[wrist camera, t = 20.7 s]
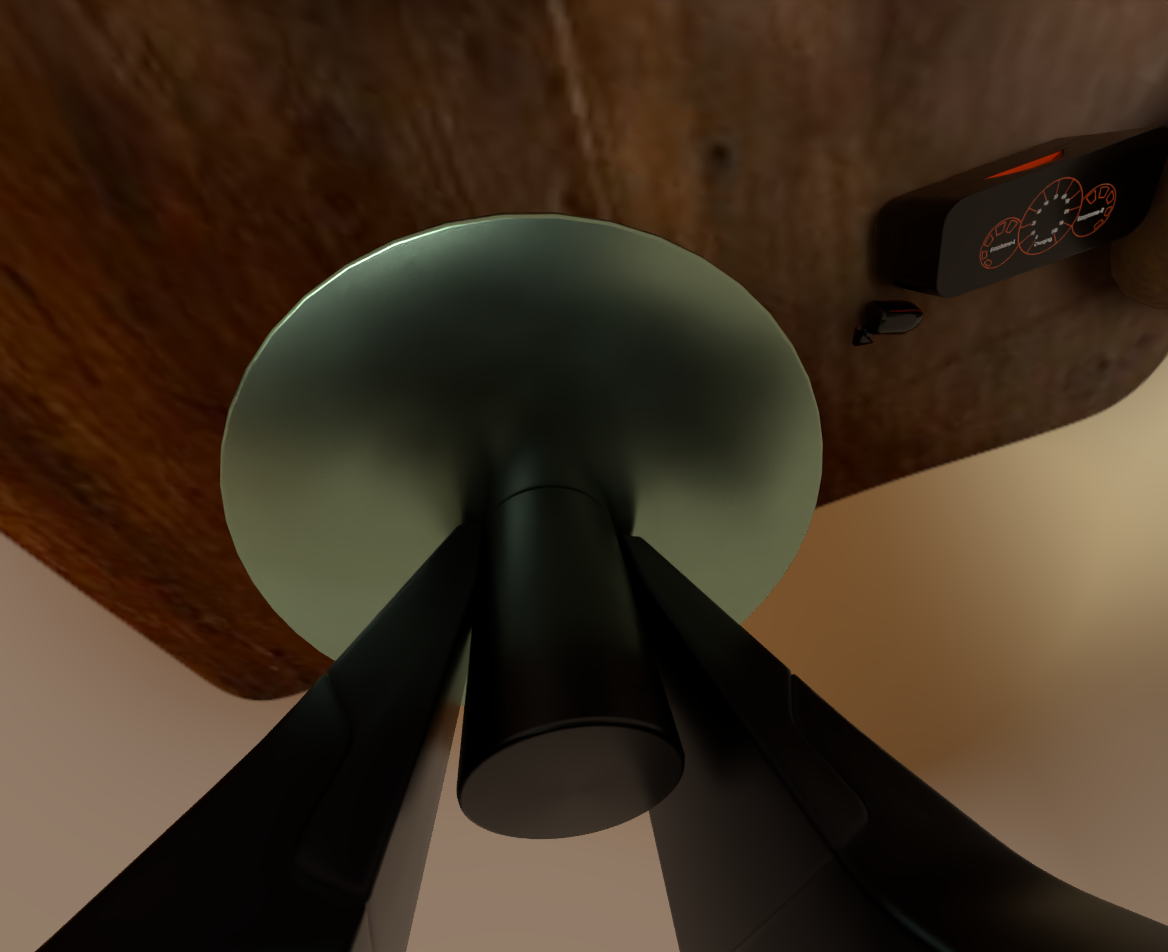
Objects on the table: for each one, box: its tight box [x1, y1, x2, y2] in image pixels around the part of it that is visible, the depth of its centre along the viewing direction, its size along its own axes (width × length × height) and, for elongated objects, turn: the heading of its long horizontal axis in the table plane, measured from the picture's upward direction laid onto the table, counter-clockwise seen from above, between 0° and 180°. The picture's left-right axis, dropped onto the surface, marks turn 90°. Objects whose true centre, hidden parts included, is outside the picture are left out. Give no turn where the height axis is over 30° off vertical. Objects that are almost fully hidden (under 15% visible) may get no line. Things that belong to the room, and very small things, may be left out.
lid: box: [220, 212, 823, 839], centre depth 7 cm, size 10×10×5 cm
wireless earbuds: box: [852, 126, 1168, 346], centre depth 15 cm, size 5×7×3 cm, turn 108°
